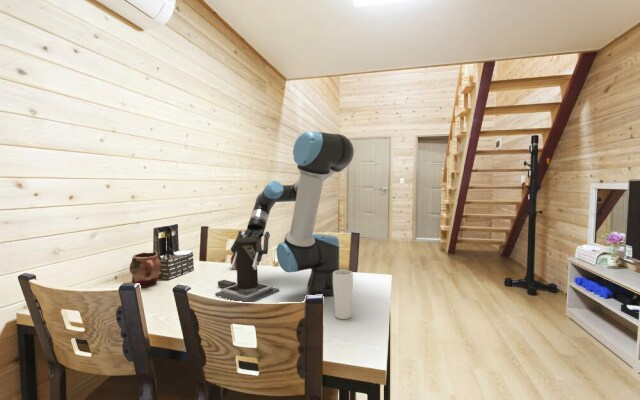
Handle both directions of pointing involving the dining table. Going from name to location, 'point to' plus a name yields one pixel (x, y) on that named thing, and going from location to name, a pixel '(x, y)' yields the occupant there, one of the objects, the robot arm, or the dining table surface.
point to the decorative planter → (145, 269)
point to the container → (246, 263)
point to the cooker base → (244, 291)
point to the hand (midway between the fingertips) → (243, 267)
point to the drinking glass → (342, 293)
